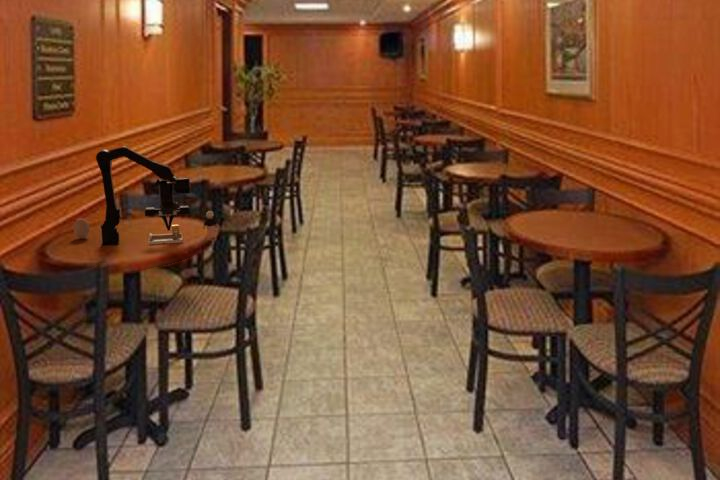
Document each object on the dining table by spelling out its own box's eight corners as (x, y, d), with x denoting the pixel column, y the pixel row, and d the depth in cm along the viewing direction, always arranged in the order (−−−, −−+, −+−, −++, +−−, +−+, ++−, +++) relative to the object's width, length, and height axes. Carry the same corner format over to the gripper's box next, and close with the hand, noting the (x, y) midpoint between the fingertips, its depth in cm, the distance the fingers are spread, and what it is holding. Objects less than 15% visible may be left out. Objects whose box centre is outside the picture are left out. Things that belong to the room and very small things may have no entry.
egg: (93, 237, 339) (91, 217, 337) (83, 240, 333) (81, 220, 331) (81, 236, 341) (80, 216, 339) (71, 239, 335) (69, 219, 333)
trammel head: (172, 238, 327) (171, 227, 326) (172, 235, 333) (171, 224, 332) (179, 237, 328) (179, 227, 327) (179, 234, 334) (178, 224, 333)
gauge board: (148, 244, 324) (148, 236, 324) (149, 239, 334) (148, 232, 333) (182, 242, 328) (182, 234, 327) (182, 237, 337) (181, 230, 336)
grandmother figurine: (214, 237, 336) (213, 209, 334) (220, 238, 334) (219, 210, 331) (201, 240, 331) (199, 211, 328) (207, 241, 328) (205, 212, 325)
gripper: (143, 198, 318) (146, 235, 321) (189, 196, 322) (191, 232, 326) (143, 194, 328) (146, 230, 332) (188, 192, 333) (190, 227, 336)
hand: (168, 230), depth 331 cm, fingers closed
